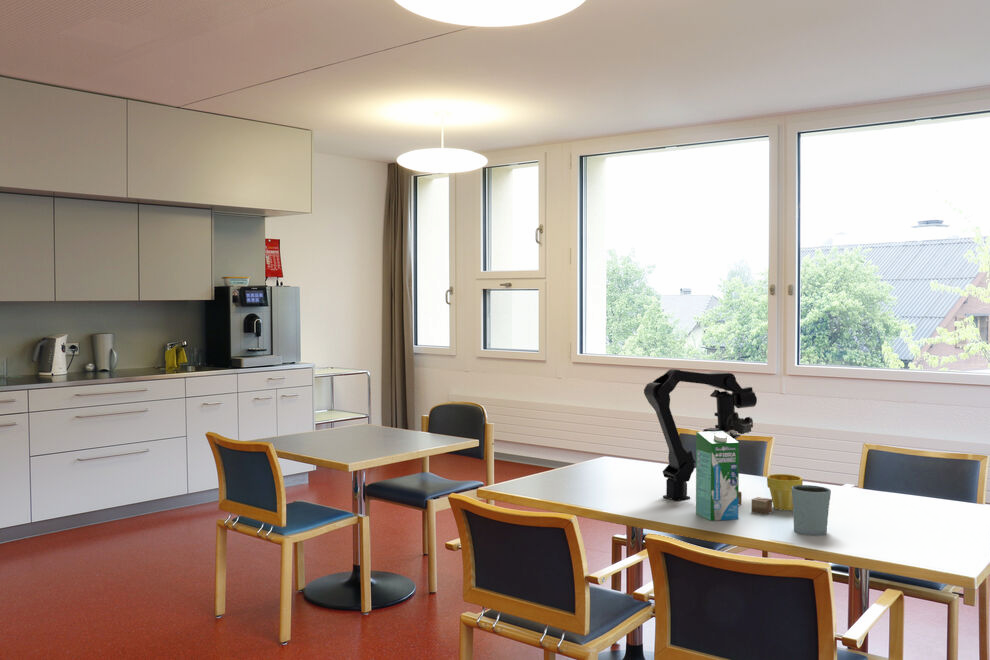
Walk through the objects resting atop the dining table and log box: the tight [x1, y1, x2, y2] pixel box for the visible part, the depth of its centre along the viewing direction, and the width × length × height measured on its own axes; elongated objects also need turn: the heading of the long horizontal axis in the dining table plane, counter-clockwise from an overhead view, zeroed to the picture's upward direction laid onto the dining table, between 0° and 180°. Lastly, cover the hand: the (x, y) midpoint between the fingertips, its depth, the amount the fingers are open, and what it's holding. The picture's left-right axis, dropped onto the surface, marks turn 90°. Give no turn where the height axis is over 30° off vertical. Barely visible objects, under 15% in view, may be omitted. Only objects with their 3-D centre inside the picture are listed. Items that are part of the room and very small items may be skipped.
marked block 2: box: [750, 496, 773, 515], centre depth 248 cm, size 4×4×4 cm
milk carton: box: [695, 431, 740, 522], centre depth 242 cm, size 9×9×25 cm
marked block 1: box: [738, 491, 743, 505], centre depth 260 cm, size 4×4×4 cm
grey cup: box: [792, 484, 832, 536], centre depth 225 cm, size 10×10×12 cm
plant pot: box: [766, 473, 804, 511], centre depth 253 cm, size 10×10×10 cm
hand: (728, 456), depth 272 cm, fingers closed
